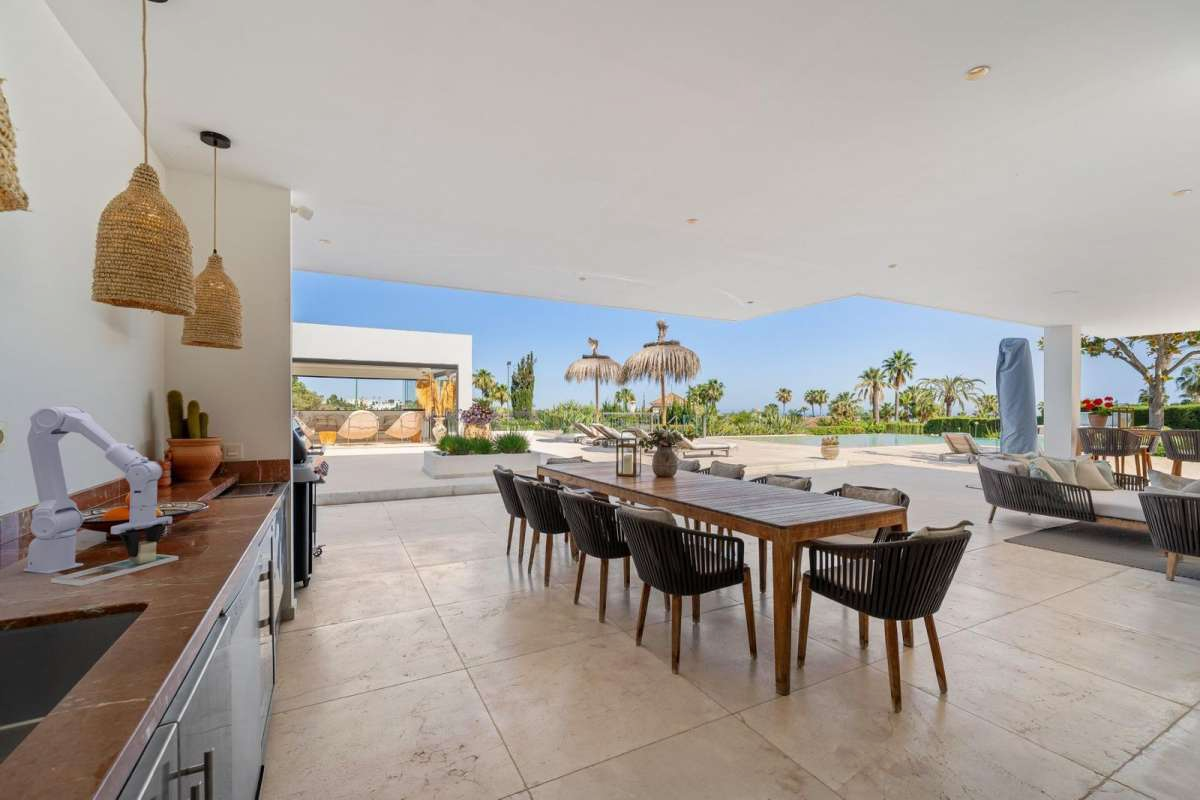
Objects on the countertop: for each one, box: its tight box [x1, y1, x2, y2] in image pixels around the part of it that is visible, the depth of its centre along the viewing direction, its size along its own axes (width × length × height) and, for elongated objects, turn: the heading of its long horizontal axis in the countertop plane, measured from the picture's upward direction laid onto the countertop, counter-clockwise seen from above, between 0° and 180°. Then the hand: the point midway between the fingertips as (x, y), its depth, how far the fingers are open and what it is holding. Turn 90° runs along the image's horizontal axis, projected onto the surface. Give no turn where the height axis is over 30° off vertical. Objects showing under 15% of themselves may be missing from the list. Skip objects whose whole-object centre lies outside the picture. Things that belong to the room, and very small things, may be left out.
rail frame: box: [50, 553, 179, 587], centre depth 141 cm, size 10×24×1 cm, turn 167°
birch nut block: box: [128, 540, 157, 564], centre depth 146 cm, size 4×4×5 cm
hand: (142, 554), depth 146 cm, fingers closed on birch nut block, 4 cm apart
